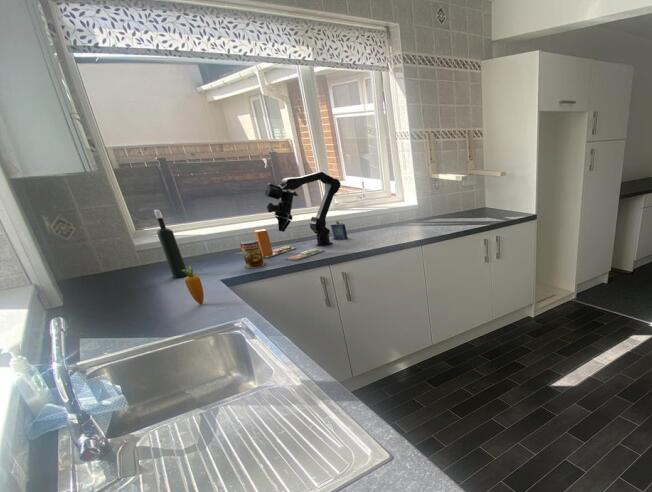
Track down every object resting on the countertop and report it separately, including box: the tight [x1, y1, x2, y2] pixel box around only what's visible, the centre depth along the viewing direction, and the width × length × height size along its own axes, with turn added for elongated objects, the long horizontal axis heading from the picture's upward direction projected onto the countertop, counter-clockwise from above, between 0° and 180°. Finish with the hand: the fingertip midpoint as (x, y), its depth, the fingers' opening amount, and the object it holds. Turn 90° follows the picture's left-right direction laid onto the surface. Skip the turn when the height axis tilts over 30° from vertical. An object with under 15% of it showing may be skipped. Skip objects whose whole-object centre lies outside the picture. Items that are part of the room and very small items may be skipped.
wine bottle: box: [153, 209, 188, 279], centre depth 190 cm, size 6×6×30 cm
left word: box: [262, 245, 297, 258], centre depth 232 cm, size 19×7×2 cm, turn 158°
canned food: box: [239, 239, 265, 269], centre depth 207 cm, size 8×8×12 cm
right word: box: [286, 248, 324, 261], centre depth 225 cm, size 19×7×2 cm, turn 158°
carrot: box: [182, 265, 205, 306], centre depth 158 cm, size 5×5×15 cm
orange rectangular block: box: [253, 228, 273, 256], centre depth 223 cm, size 5×4×13 cm
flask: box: [329, 220, 348, 240], centre depth 257 cm, size 9×3×11 cm, turn 84°
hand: (281, 231), depth 226 cm, fingers open, 9 cm apart
